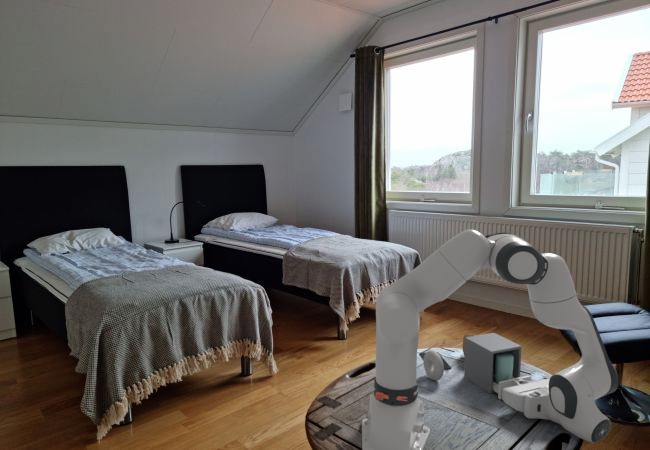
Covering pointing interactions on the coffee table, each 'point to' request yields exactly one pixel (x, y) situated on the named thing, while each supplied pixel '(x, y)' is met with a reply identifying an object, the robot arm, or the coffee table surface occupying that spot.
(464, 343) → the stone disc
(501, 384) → the tray
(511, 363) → the sage green cylinder
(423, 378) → the coffee table surface
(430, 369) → the donut
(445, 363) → the smartphone
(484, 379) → the housing
